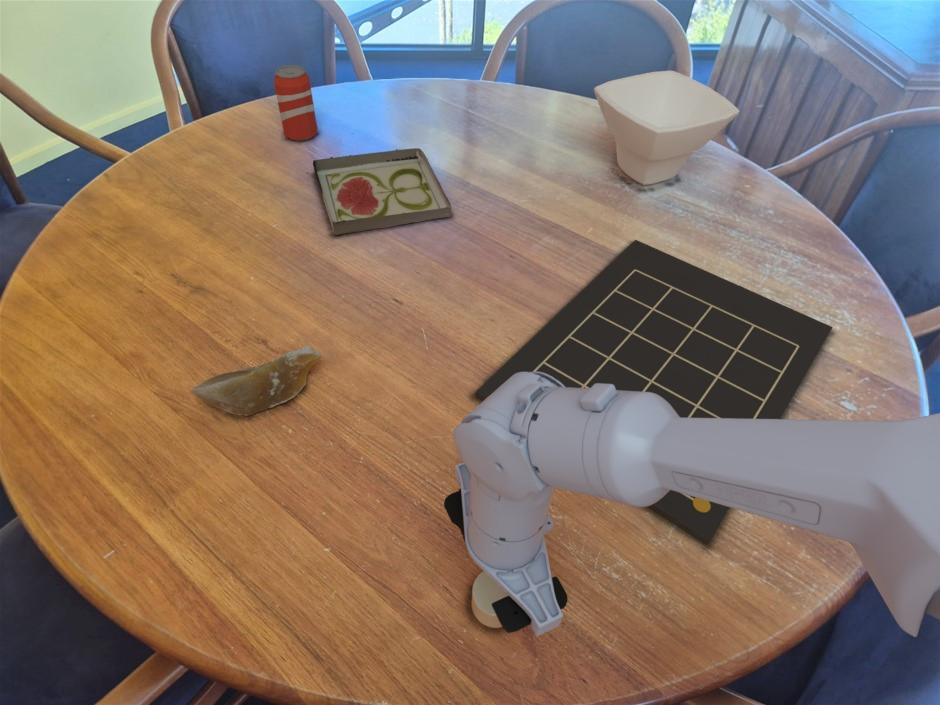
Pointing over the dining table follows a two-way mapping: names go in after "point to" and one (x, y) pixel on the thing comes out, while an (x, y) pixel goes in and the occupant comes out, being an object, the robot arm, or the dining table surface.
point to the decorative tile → (380, 190)
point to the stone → (259, 384)
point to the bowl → (660, 121)
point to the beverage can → (295, 102)
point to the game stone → (486, 600)
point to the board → (676, 351)
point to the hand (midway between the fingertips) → (497, 582)
